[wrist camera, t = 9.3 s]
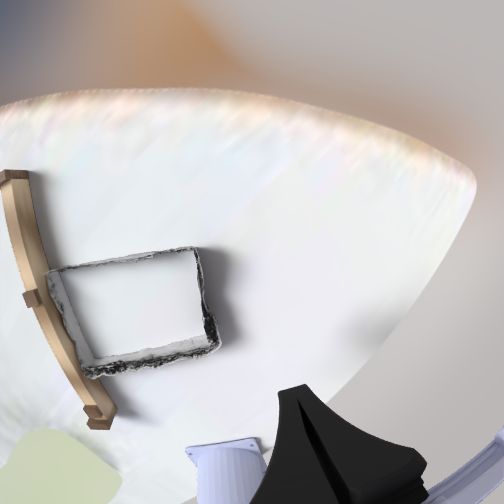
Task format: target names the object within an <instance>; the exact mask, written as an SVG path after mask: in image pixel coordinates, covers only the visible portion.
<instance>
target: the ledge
mask: <svg viewBox="0 0 504 504" xmlns="http://www.w3.org/2000/svg"><path fill="white" fill-rule="evenodd" d="M0 190H1V194H2V201H3V207H4V212H5V218H6V223H7V227H8V232H9V236H10V240H11V244H12V248H13V252H14V255H15V259H16V262H17V266H18V269H19V272H20V275H21V278H22V281H23V284H24V287H25V290H26V292H25V293H23V294H22V295H23V297H24V300H25V303H26V305H27V308H30V307H32V308H33V310H34V313H35V315H36V317H37V320H38V322H39V324H40V326H41V329H42V331H43V333H44V335H45V337H46V339H47V341H48V343H49V345H50V347H51V349H52V351H53V353H54V355H55V357H56V359H57V360H58V362H59V364H60V366H61V368H62V369H63V371H64V373H65V375H66V376H67V378H68V380H69V381H70V383H71V384H72V386H73V388H74V389H75V391H76V392H77V394H78V395H79V397H80V398H81V400H82V401H83V403H84V404H85V406H84V408H83V410H84V411H85V413H86V414H87V415H88V417H89V420H88V422H87V425H88V427H89V428H90V429H94V430H110V427H111V424H112V422H113V419H114V416H115V414H116V411H117V407H116V406H115V404H114V403H113V401H112V400H111V398H110V397H109V395H108V394H107V392H106V390H105V389H104V387H103V385H102V384H101V382H100V380H99V379H98V377H97V378H96V379H90V378H86V377H85V376H84V373H85V372H86V371H85V370H83V369H82V368H81V365H82V364H83V363H82V362H80V361H79V357H78V355H77V352H76V348H77V346H76V345H75V343H76V341H74V340H73V339H71V337H70V336H69V334H68V331H67V329H66V328H65V326H64V323H63V318H62V314H61V312H60V311H59V310H58V308H57V306H56V304H55V301H54V300H53V298H52V297H51V295H50V293H49V292H50V289H49V284H48V283H47V279H48V276H47V274H45V275H42V274H44V273H46V272H48V271H50V269H49V266H48V263H47V260H46V257H45V253H44V250H43V246H42V243H41V239H40V235H39V231H38V227H37V223H36V218H35V213H34V209H33V203H32V198H31V192H30V186H29V179H28V172H27V170H3V171H2V172H0ZM41 275H42V276H41Z"/></svg>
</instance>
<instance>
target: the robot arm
mask: <svg viewBox="0 0 504 504" xmlns="http://www.w3.org/2000/svg"><path fill="white" fill-rule="evenodd" d="M278 397H279V423H278V430H277V436H276V441H275V446H274V449H273V453H272V457H271V459H270V462H269V465H268V468H267V465H266V463H265V461H264V459H263V456H262V454H261V452H260V449H259V447H258V444H257V442H256V440H255V439H253V438H250V439H244V440H239V441H233V442H227V443H221V444H214V445H206V446H197V447H188V448H185V452H186V454H187V455H188V457H189V458H190V459H191V461H192V462H193V463H194V464H195V466H196V467H197V504H479V503H480V502H481V501H482V500H483V499H484V498H486V497H487V496H488V495H489V494H490V493H491V492H492V491H493V490H494V489H495V488H497V487H498V486H499V485H500V484H501V483H502V481H504V426H503V427H502V428H501V429H500V431H499V432H498V433H497V435H496V437H495V439H494V440H493V441H492V442H491V443H490V444H489V445H488V446H486V447H485V448H484V449H483V450H482V451H481V452H480V453H478V454H477V455H476V456H475V457H474V458H473V459H471V460H470V461H469V462H467V463H466V464H465V465H464V466H462V467H461V468H460V469H458V470H457V471H456V472H454V473H453V474H451V475H450V476H449V477H447V478H446V479H444V480H443V481H441V482H440V483H438V484H437V485H436V486H434V487H432V488H431V489H429V490H427V491H426V489H425V488H424V486H423V483H424V481H423V480H422V478H421V475H422V474H423V472H424V470H425V468H426V466H427V462H426V461H425V459H424V458H423V457H422V456H421V455H420V454H419V453H418V452H417V451H416V450H415V449H414V448H410V447H405V446H401V445H397V444H394V443H391V442H388V441H385V440H382V439H380V438H377V437H375V436H373V435H370V434H368V433H366V432H364V431H362V430H360V429H359V428H357V427H355V426H353V425H351V424H350V423H349V422H347V421H346V420H344V419H343V418H341V417H340V416H339V415H337V414H336V413H335V412H334V411H332V410H331V409H330V408H329V407H328V406H326V405H325V404H324V403H323V402H322V401H321V400H320V399H319V398H318V397H317V396H316V395H315V394H314V393H313V392H312V391H311V389H310V388H309V387H308V386H307V385H306V384H303V385H300V386H296V387H293V388H289V389H286V390H282V391H279V392H278Z"/></svg>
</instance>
